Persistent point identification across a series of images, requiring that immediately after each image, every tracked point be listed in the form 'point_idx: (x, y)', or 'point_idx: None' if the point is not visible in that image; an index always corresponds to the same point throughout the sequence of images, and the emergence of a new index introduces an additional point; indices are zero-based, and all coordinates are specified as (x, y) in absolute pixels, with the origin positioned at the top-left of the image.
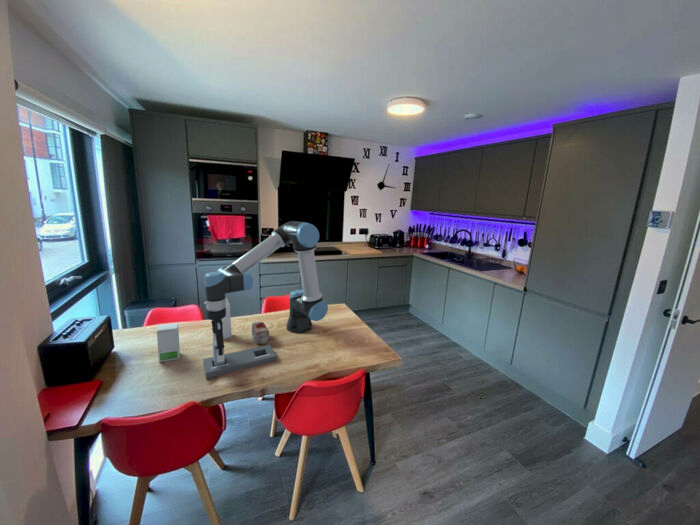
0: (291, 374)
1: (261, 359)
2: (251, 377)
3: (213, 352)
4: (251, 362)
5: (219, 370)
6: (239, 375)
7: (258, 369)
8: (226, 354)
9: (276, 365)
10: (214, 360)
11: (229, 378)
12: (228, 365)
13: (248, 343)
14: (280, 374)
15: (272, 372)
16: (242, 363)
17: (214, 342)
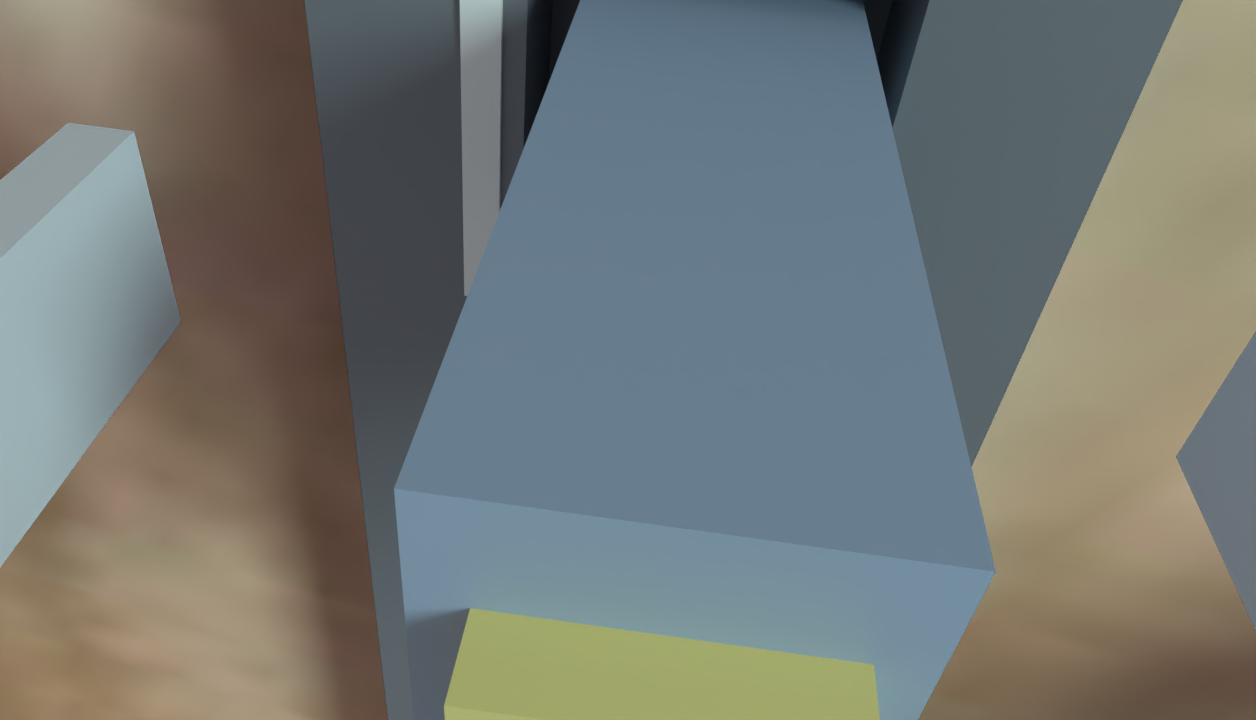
0: (66, 717)
1: (385, 694)
2: (121, 410)
3: (800, 193)
4: (378, 580)
5: (316, 35)
6: (245, 294)
7: (320, 541)
8: (984, 373)
9: (330, 698)
10: (584, 60)
11: (198, 124)
12: (423, 270)
13: (1253, 697)
14: (97, 656)
15: (173, 621)
16: (383, 483)
17: (811, 606)
